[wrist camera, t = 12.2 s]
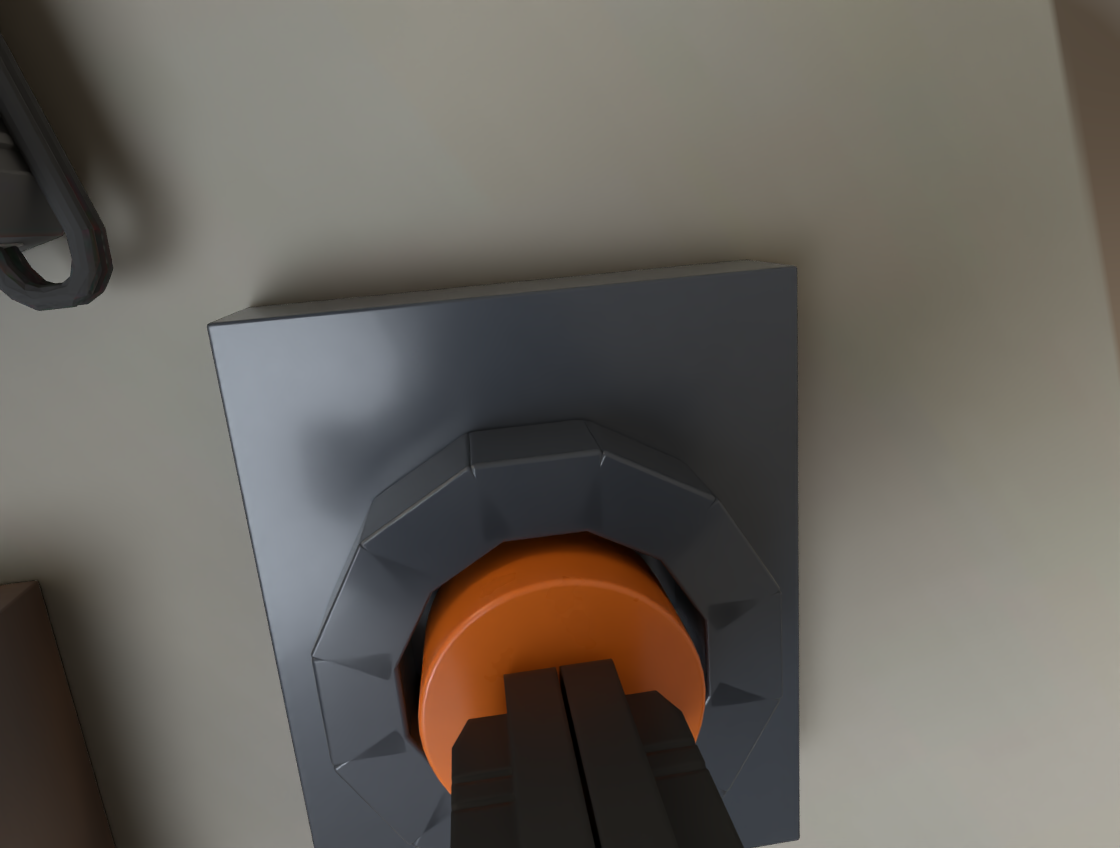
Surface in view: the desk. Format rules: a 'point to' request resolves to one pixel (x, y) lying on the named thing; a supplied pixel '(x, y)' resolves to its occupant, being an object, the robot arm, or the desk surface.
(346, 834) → the button box
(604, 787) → the robot arm
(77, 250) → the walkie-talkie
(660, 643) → the button
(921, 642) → the desk surface
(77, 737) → the dial panel
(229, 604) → the desk surface
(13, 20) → the desk surface
